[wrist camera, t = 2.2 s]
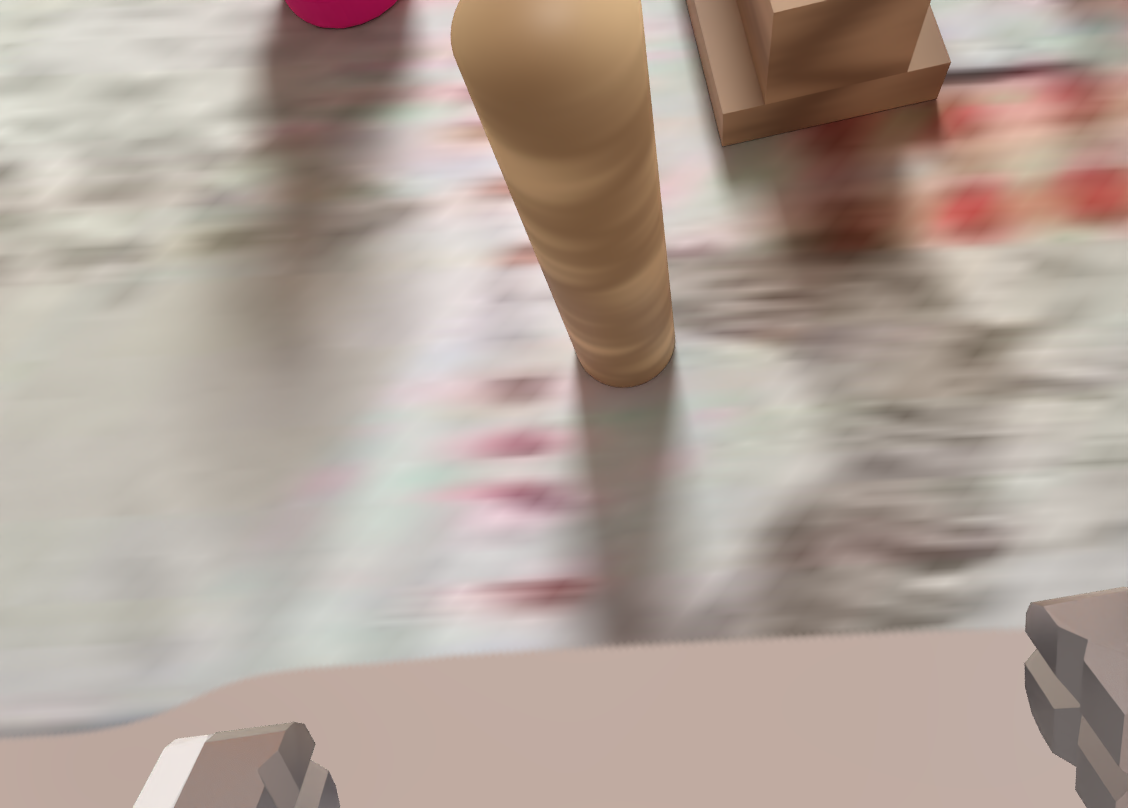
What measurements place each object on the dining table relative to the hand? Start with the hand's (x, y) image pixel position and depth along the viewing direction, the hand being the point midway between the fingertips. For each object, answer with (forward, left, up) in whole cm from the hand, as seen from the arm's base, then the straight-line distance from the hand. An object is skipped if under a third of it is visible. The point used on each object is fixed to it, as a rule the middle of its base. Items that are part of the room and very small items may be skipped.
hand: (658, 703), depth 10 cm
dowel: (0, +12, -18) cm, 22 cm away
